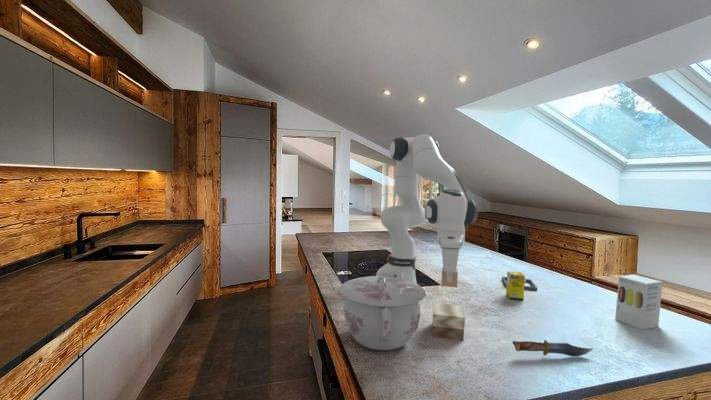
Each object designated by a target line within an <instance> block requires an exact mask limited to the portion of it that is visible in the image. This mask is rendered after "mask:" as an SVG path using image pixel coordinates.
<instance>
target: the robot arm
mask: <svg viewBox="0 0 711 400" xmlns="http://www.w3.org/2000/svg"><path fill="white" fill-rule="evenodd" d="M389 154H390V157H391V159H392V160H394V161H396V165H395V171H394V172H395V174H394V188H393V189H394V193H395V195H396V196H397V197H399V199H400V203H401V205H391V206H388V207H385V208H384V209H382V211H381V214H380V222H381V224H382V226H383V227H384V228H385V229H386V230H387V231H388V233H389V236H390V239H391V254H389V255H388V256H387V263H385V264H384V265H383V266H381V267H380V268H379V269H378V270H377V272H376V275H375V276H387V277H395V278H401V279H405V280H408V281H412V282H414V283H416V284H418V283H417V282H418V281H417V278H416V277H417V276H416V265H417V260H416V241H415V239H414V238H413V237H412V236H411V235H410V233H409V230H408V229H411V228H417V227H420V226H423V225H424V224H425V223H427V221H428V222H429V223H430V224H431V225H435V226H437V234H436V235H437V236H436V237H437V238H436V239H437V240H436V243H437V244H439V247H440V248H441V255H442V256H441V257H442V267H443V270H444V272H446V275H447V280H446V281H447V282H452V276H453V273H455V272H456V269H458V268H457V267H458V260H459V253H460V251H461V249H462V247H463V246H464V245H465V244H466V243H465V239H466V238H465V237H466V227H470V226H471V225H472V224H473V223H474V222H475V221H476V220H477V218H478V215H479V210H478V206H477V204H476V202H475V201H474V199H473V198H471V196H470V195H469V193H468V191H467V190H466V188H465V186H464V184H463V182H462V180H461V178H460V177H459V174H457V171H455V169H454V168H453V167H452V166H451V165H450V164H448V163H447V162H446V161H445V160H444V159H443V157H442V156H441V153H440V144H439V143H438V141H437V140H435V139H433V137H432V136H431V135H429V134H426V133H425V134H423V133H422V134H418V135H416V136H414V137H413V136H411V137H409V136H408V137H402V136H401V137H395V138H394V139H392V140H391V143H390V146H389ZM419 176H420V177H421V178H423V179H424V180H429V181H433V182H435V183H436V182H437V183H439V184H442V185H443V186H445V187H446V188H447V189H443V190H441V191H440V193H439V195H438V196H437V197H435V198H431V199H429V200H428V201H427V203H426V204H425V206H424V207H423V205H422V203H421V201H420V197H419Z"/></svg>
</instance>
